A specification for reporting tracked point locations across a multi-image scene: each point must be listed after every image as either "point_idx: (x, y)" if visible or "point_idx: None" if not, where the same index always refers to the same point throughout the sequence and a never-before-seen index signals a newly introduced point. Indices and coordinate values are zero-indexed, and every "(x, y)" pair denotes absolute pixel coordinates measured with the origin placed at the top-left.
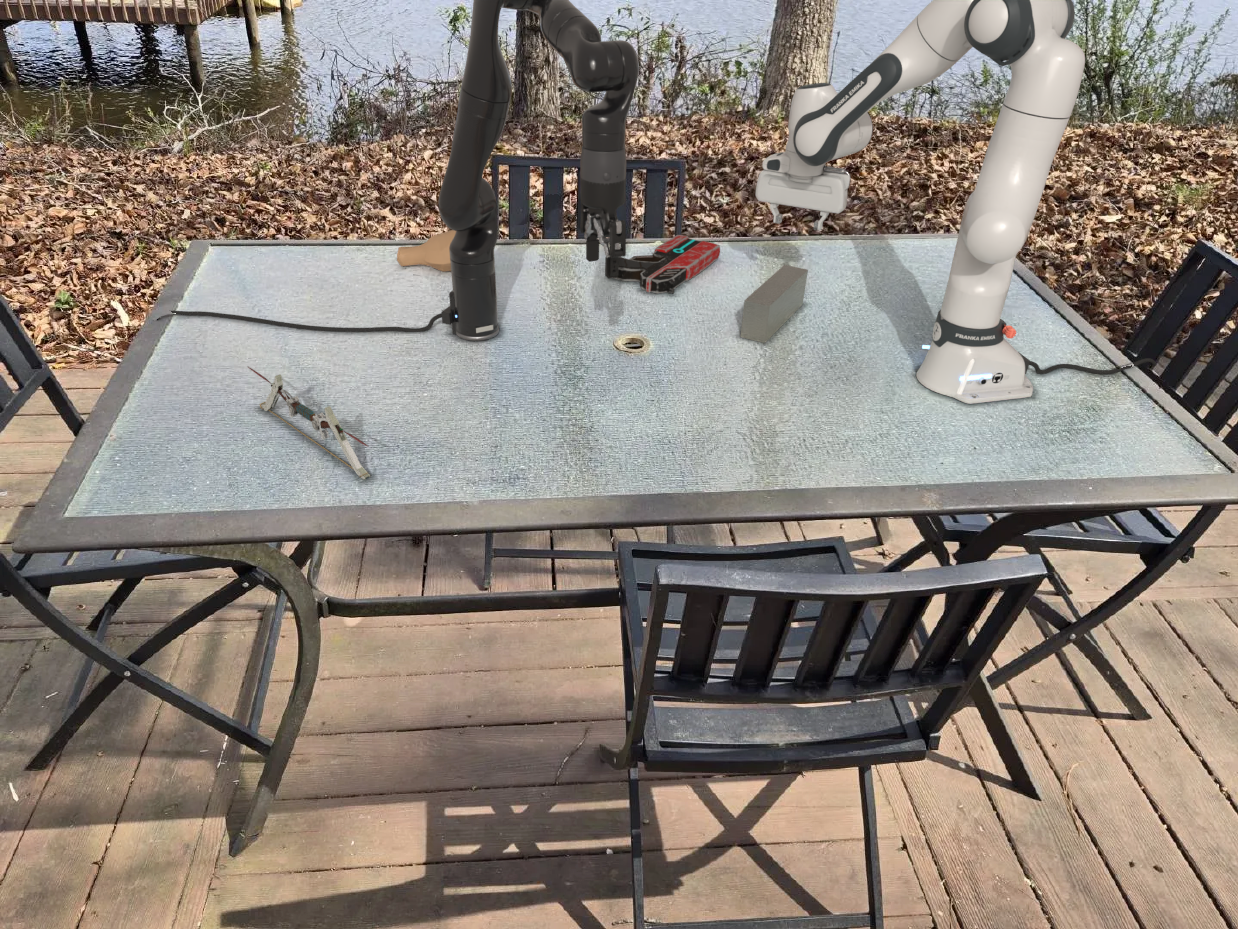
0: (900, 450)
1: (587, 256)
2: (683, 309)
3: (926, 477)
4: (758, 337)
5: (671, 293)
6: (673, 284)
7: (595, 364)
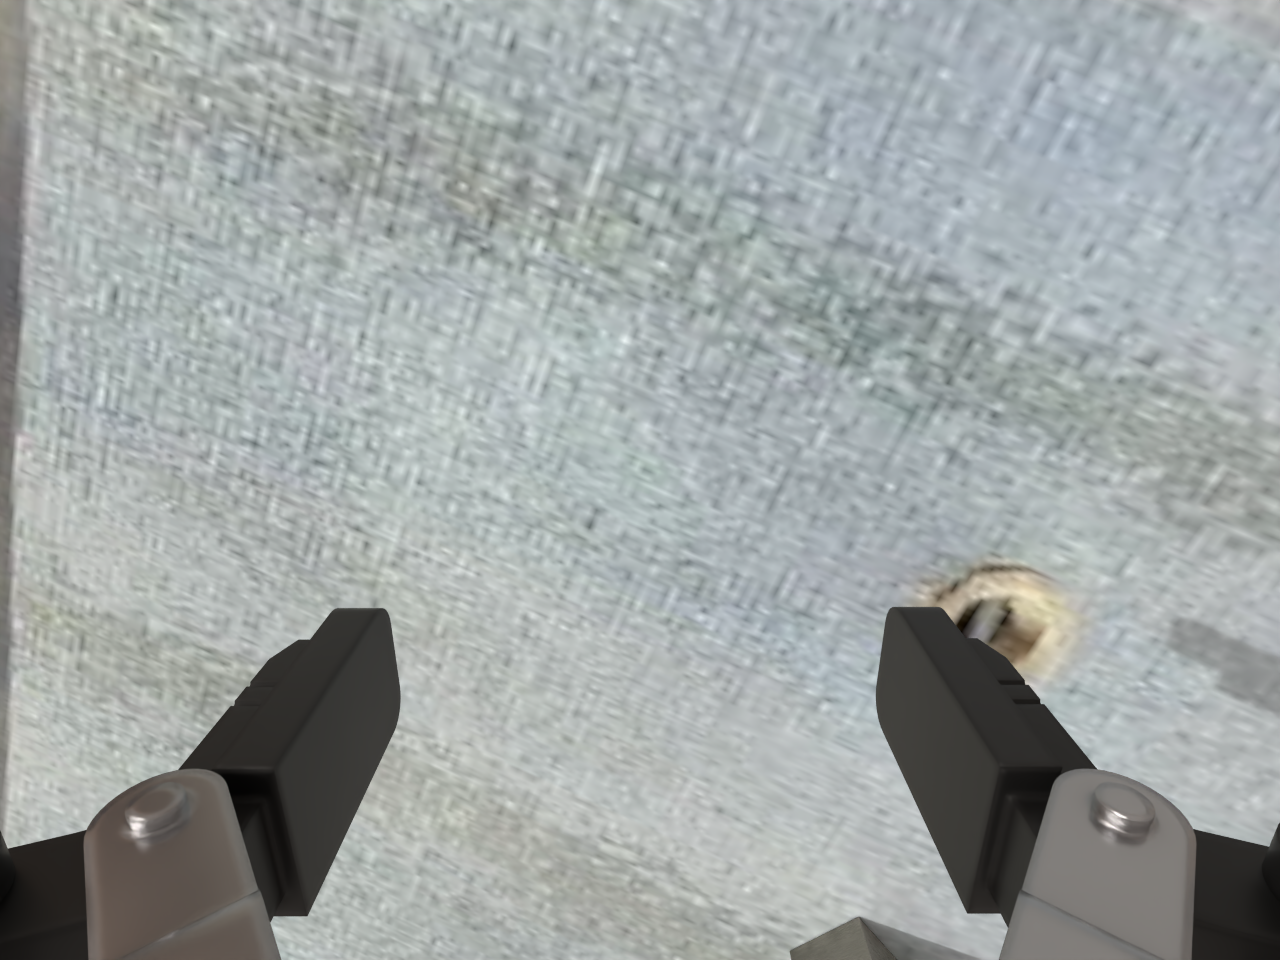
0: None
1: (914, 629)
2: None
3: None
4: (810, 954)
5: None
6: None
7: (920, 449)
